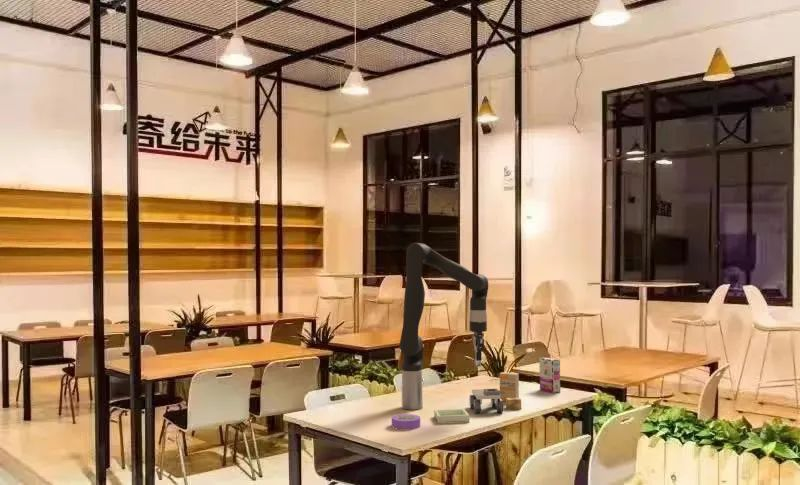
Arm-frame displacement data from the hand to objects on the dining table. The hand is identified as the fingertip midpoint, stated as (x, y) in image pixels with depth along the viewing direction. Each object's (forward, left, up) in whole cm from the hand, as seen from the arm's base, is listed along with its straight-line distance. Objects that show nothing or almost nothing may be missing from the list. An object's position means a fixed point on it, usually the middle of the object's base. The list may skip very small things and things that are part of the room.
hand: (478, 359), depth 295 cm
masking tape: (-33, -17, -24) cm, 44 cm away
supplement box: (+20, +24, -24) cm, 39 cm away
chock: (+18, +8, -24) cm, 31 cm away
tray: (-13, -9, -23) cm, 28 cm away
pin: (0, 0, -3) cm, 3 cm away
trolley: (+5, +6, -23) cm, 25 cm away
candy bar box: (+46, +44, -24) cm, 68 cm away
